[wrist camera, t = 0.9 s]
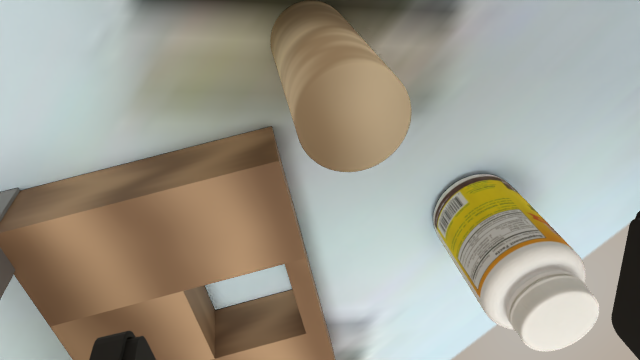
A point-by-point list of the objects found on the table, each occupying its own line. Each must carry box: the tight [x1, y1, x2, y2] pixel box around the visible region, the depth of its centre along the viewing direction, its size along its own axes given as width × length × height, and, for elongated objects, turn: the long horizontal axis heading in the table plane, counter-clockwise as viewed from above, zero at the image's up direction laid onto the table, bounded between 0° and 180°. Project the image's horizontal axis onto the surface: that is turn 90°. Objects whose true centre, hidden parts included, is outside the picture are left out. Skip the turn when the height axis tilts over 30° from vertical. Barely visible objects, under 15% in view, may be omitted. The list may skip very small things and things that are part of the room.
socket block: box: [0, 126, 335, 360], centre depth 31 cm, size 14×18×4 cm
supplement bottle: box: [433, 174, 599, 351], centre depth 29 cm, size 6×6×10 cm
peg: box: [270, 0, 411, 172], centre depth 22 cm, size 4×4×10 cm
